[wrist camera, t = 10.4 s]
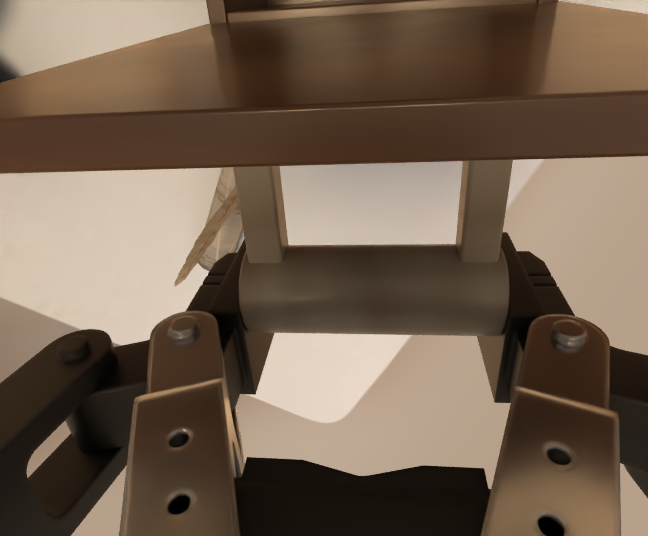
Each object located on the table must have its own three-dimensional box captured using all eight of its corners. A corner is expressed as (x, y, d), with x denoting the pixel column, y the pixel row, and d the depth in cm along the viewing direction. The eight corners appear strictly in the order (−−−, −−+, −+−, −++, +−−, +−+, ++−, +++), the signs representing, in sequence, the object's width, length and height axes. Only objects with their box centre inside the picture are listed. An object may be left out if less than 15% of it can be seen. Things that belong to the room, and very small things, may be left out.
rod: (242, 109, 32) (231, 119, 30) (280, 125, 33) (272, 136, 30) (201, 248, 38) (189, 266, 36) (234, 261, 39) (224, 279, 36)
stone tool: (215, 227, 34) (161, 313, 26) (205, 219, 34) (148, 304, 26) (254, 180, 32) (210, 258, 24) (244, 172, 32) (196, 247, 23)
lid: (-154, 124, 7) (-7, 383, 9) (1058, 73, 5) (831, 408, 8) (206, 24, 21) (225, 139, 23) (562, 1, 19) (541, 128, 22)
